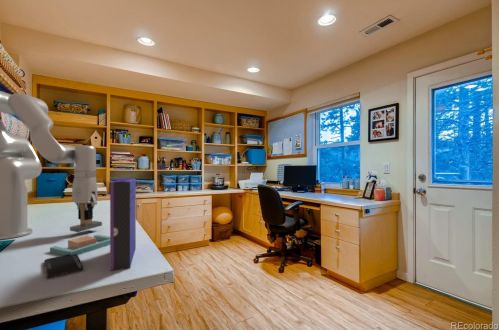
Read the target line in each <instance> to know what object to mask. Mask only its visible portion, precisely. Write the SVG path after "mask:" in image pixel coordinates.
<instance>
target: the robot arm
mask: <svg viewBox="0 0 499 330" xmlns="http://www.w3.org/2000/svg"><path fill="white" fill-rule="evenodd" d="M0 113H2V114H7V115H8V114H9V115H14V116H16V117H17V118H18V119H19V120H20V121H21V123H23V125H24V126H25V127H26V128H27V129H28V131H29V132H30V141H31V142H30V141H29V140H28V139H27V138H26V137H24V136H21V135H17V134H12V133H10V132H9V131H8V129H7V128H6V126H5V124H4V122H3V120H2V119H1V118H0V240H5V239H6V240H8V239H14V238H20V237H24V236H27V235H30V234H32V233H33V229H32V228H29V227H28V188H27V187H28V186H27V184H26V183H25V180H32V179H36V178H38V177H39V176H40V175H41V173H42V171H43V167H42V163H41V161H40V159H39V157H38V155H37V153H36V151H38V153H39V154H40V155H41V156H42V157H43V158H44V159H45V160H47V161H48V162H50V163H53V164H73V171H74V176H73V177H74V178H73V181H72V186H71V187H72V189H71V201H72V202H73V203H74V204H75V205H76V207H77V208H76V209H77V212H78V213H77V215H78V220H80V203H85V210H84V220H89V219H92V220H93V217H94V215H93V214H94V213H93V212H94V209H95V208H94V207H95V206H96V205H98V198H99V197H98V182H97V150H96V147H95V146H93V145H87V144H86V145H85V144H83V145H75V146H73V145H69V144H62V143H61V144H60V143H59V142H58V141H57V140H56V139H55V138H54V136H53V135H52V133H51V132H50V130H51V129H52V128H53V126H54V121H53V120H52V119H51V117H50V116H49V115H48V114H49V107H48V105H47V103H46V102H45V101H44V100H42V99H40V98H37V97H34V96H32V95H29V94H26V93H21V92H17V93H13V94H11V93H9V92H8V93H7V92H5V91H1V90H0ZM33 146H34V148H35V149H36V151H35V149H34V148H33ZM88 204H89V205H88Z"/></svg>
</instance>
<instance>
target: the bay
mask: <svg viewBox="0 0 499 330" xmlns="http://www.w3.org/2000/svg"><path fill="white" fill-rule="evenodd" d="M93 237H94V238H96V241H98V242H96V243H95V244H91V245H88V246H85V247H82V248H78V249H75V250H73V249H69V248H65V247H60V246H58V245H57V246H56V245H53V246H51V247H49V253H51V254H52V253H53V254H56V255H60V256H64V255H74V254H77V255H78V256H79V255H82V254H84V253H89V252H91V251H95V250H97V249H100V248H103V247H107V246H110V235H108V236H107V235H102V234H95V235H93Z"/></svg>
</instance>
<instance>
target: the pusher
mask: <svg viewBox="0 0 499 330" xmlns="http://www.w3.org/2000/svg"><path fill="white" fill-rule="evenodd" d="M88 205H89V204H88ZM84 210H85V203H80V219H79V220H80V223H79V224H77V225H72V226H69V231H70V232H74V233H80V232H84V231H87V230H91V229H95V228H98V227H101V226H103V221H99V220H93V218H92V219H89V220H84Z"/></svg>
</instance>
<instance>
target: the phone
mask: <svg viewBox="0 0 499 330" xmlns="http://www.w3.org/2000/svg"><path fill="white" fill-rule="evenodd" d="M43 266H44V267H43V268H44V272H45V278H46V280H53V279H57V278H61V277H65V276H69V275H73V274H77V273H81V272H83V271H84V265H83V263H82V261H81V259H80V257H79V255H77V254H74V255H60V256H54V257H49V258H46V259H44V263H43Z"/></svg>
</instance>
